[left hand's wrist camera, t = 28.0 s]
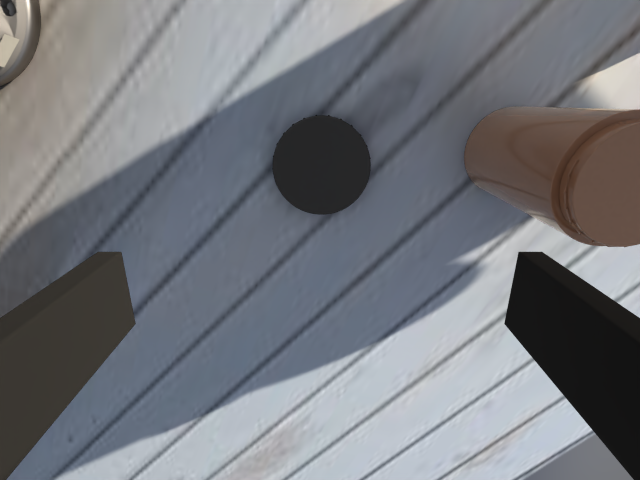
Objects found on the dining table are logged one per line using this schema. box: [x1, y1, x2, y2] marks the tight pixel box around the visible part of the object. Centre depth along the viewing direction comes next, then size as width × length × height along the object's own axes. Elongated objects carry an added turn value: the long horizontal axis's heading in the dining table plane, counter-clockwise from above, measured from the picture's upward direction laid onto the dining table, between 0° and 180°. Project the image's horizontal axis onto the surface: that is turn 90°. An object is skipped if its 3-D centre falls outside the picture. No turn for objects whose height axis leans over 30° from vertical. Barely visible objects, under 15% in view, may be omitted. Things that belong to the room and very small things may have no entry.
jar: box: [464, 106, 640, 247], centre depth 30 cm, size 9×9×17 cm
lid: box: [273, 115, 370, 214], centre depth 38 cm, size 10×10×2 cm
